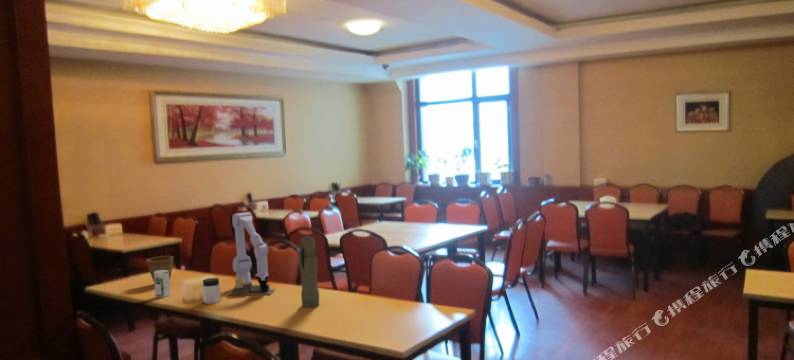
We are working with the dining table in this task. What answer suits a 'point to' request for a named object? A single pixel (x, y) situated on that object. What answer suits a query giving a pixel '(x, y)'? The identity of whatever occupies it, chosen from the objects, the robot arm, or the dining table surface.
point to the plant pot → (160, 264)
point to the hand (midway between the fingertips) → (263, 290)
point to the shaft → (253, 288)
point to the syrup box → (162, 283)
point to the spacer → (239, 282)
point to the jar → (211, 291)
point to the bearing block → (246, 291)
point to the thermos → (308, 272)
